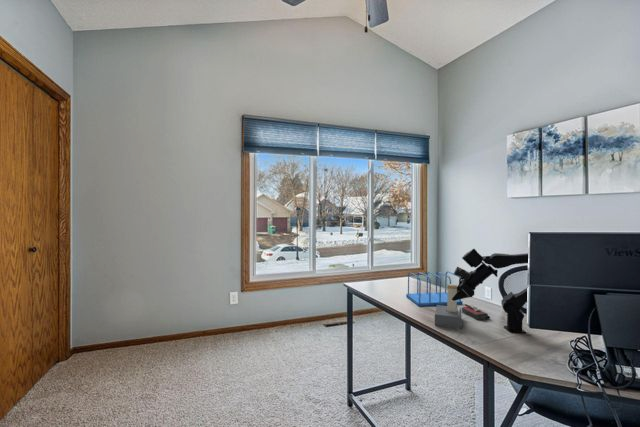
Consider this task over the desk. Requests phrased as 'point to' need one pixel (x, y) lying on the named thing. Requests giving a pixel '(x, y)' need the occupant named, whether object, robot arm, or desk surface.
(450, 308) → the strip
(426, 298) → the file sorter
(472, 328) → the desk surface
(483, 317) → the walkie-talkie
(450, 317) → the block
